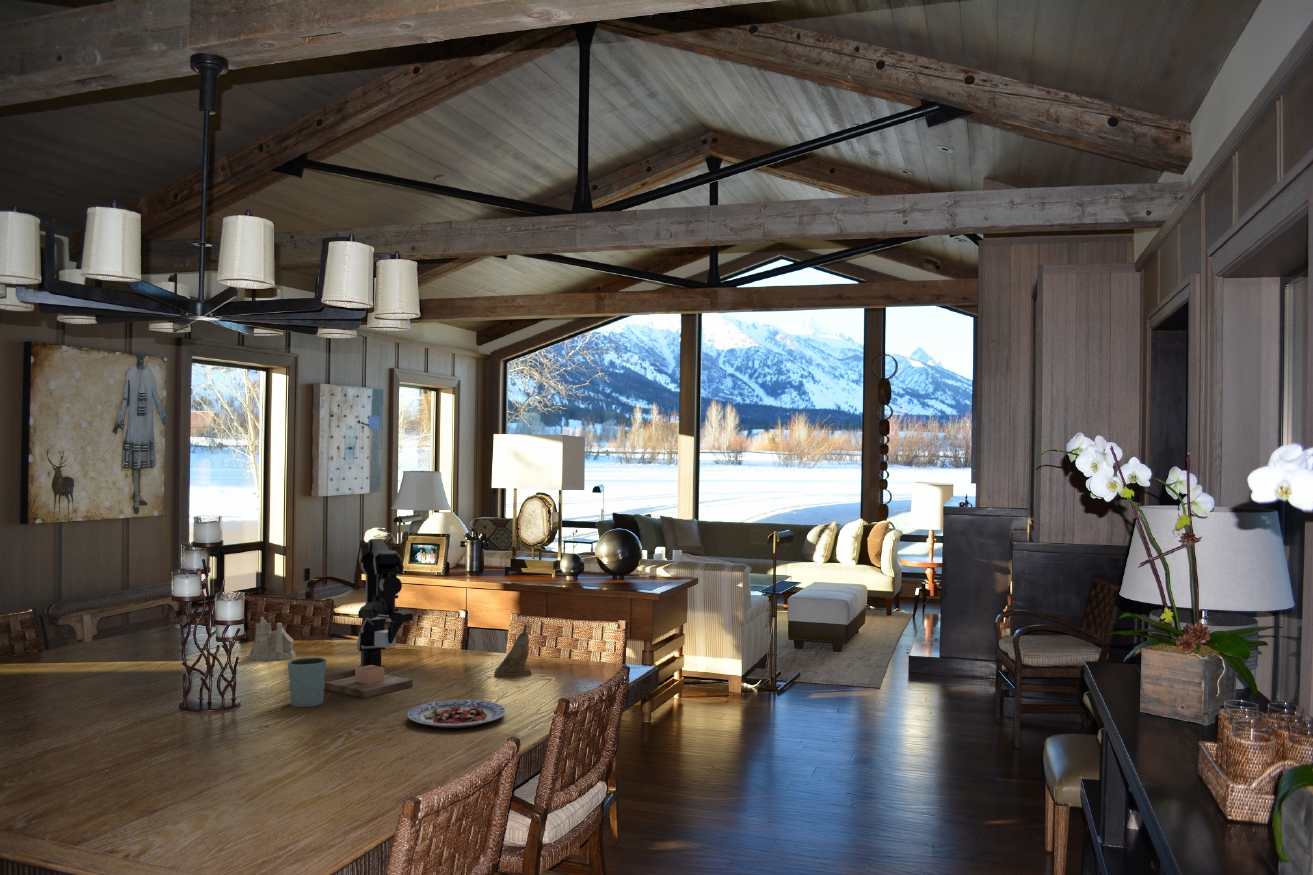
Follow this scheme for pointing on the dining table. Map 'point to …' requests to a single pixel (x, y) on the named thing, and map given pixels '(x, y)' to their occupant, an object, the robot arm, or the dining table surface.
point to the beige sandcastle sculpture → (271, 643)
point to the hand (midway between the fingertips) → (384, 642)
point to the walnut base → (368, 686)
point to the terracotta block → (369, 674)
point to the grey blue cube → (383, 639)
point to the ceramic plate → (456, 713)
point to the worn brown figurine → (515, 659)
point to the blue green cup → (307, 681)
